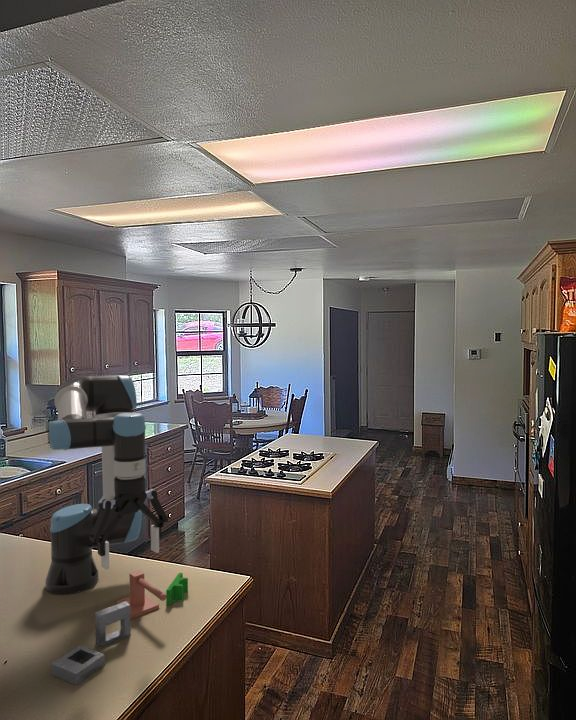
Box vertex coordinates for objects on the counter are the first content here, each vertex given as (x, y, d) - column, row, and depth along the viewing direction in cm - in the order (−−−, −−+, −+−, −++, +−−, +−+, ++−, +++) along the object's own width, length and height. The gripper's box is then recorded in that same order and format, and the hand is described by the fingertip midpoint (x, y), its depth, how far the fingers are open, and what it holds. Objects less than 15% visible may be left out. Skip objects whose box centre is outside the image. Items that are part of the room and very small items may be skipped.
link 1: (51, 674, 116) (51, 663, 116) (80, 655, 123) (80, 645, 123) (76, 685, 113) (76, 674, 113) (104, 664, 120) (104, 654, 120)
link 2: (95, 644, 128) (95, 612, 128) (126, 631, 134) (125, 601, 133) (99, 648, 126) (99, 616, 126) (130, 635, 132) (130, 604, 132)
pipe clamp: (179, 606, 147) (178, 590, 146) (166, 606, 147) (166, 590, 147) (191, 587, 158) (190, 572, 157) (179, 587, 158) (178, 572, 158)
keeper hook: (116, 604, 147) (115, 571, 147) (142, 595, 153) (141, 563, 152) (151, 634, 132) (150, 597, 132) (178, 622, 138) (178, 587, 137)
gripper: (87, 489, 118) (89, 580, 119) (181, 469, 136) (181, 549, 137) (73, 482, 123) (75, 570, 124) (165, 464, 141) (166, 541, 142)
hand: (131, 559), depth 130 cm, fingers open, 13 cm apart
